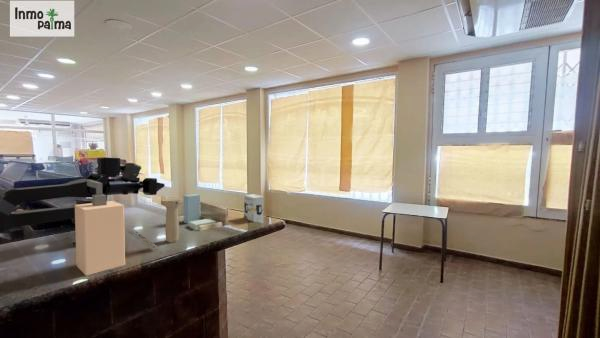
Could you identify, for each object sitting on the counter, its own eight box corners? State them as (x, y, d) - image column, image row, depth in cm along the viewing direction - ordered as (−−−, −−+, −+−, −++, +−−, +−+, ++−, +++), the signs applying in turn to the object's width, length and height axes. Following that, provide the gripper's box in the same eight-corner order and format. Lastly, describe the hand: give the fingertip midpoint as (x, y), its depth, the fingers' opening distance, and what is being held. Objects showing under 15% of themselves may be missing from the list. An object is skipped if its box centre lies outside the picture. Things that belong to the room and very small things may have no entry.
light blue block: (188, 227, 110) (187, 196, 109) (183, 225, 113) (183, 195, 112) (199, 225, 114) (199, 195, 113) (195, 223, 117) (195, 194, 116)
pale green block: (195, 230, 102) (195, 224, 102) (189, 226, 106) (189, 221, 106) (216, 226, 107) (215, 221, 107) (208, 223, 112) (208, 218, 111)
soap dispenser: (125, 265, 74) (123, 183, 72) (85, 275, 67) (83, 185, 66) (109, 253, 82) (107, 179, 80) (72, 261, 75) (69, 181, 74)
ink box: (243, 221, 122) (243, 194, 121) (252, 219, 125) (252, 193, 124) (253, 225, 115) (254, 197, 115) (263, 223, 119) (263, 196, 118)
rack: (200, 234, 101) (200, 213, 101) (176, 223, 115) (176, 204, 115) (228, 228, 110) (228, 208, 109) (202, 219, 124) (202, 201, 123)
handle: (158, 246, 88) (158, 200, 87) (177, 241, 93) (176, 197, 92) (167, 249, 85) (166, 201, 84) (185, 244, 91) (185, 199, 90)
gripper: (136, 164, 95) (173, 165, 109) (101, 163, 102) (140, 164, 117) (135, 196, 95) (172, 193, 109) (101, 193, 102) (140, 190, 117)
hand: (156, 184), depth 113 cm, fingers open, 9 cm apart
